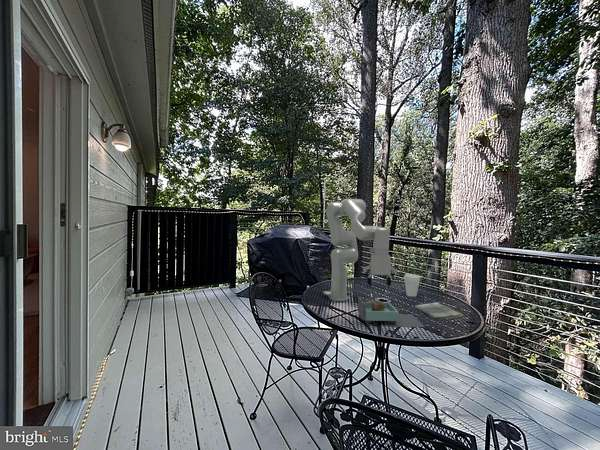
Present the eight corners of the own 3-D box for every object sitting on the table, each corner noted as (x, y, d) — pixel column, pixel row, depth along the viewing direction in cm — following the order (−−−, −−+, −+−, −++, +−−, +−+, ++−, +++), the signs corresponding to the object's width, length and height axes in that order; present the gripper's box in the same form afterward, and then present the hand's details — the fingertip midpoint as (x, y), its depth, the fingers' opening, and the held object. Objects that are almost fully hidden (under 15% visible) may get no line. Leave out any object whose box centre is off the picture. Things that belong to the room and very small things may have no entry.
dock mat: (388, 326, 145) (388, 326, 145) (378, 314, 161) (378, 313, 161) (425, 327, 145) (425, 327, 145) (411, 314, 162) (411, 314, 162)
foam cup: (411, 298, 191) (412, 278, 190) (400, 293, 200) (401, 274, 199) (422, 296, 196) (423, 276, 195) (410, 292, 204) (412, 273, 203)
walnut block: (374, 314, 150) (374, 304, 150) (371, 310, 155) (372, 301, 155) (384, 314, 150) (384, 304, 150) (381, 310, 155) (381, 301, 155)
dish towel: (435, 320, 156) (436, 314, 156) (414, 308, 173) (414, 303, 173) (464, 318, 161) (465, 312, 160) (440, 306, 178) (441, 301, 178)
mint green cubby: (363, 324, 146) (363, 305, 145) (356, 314, 160) (357, 296, 159) (397, 325, 146) (399, 305, 145) (388, 314, 160) (389, 296, 159)
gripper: (365, 252, 146) (363, 287, 148) (400, 253, 147) (398, 287, 148) (361, 250, 154) (360, 282, 155) (395, 251, 154) (393, 283, 156)
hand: (378, 285), depth 152 cm, fingers open, 9 cm apart
